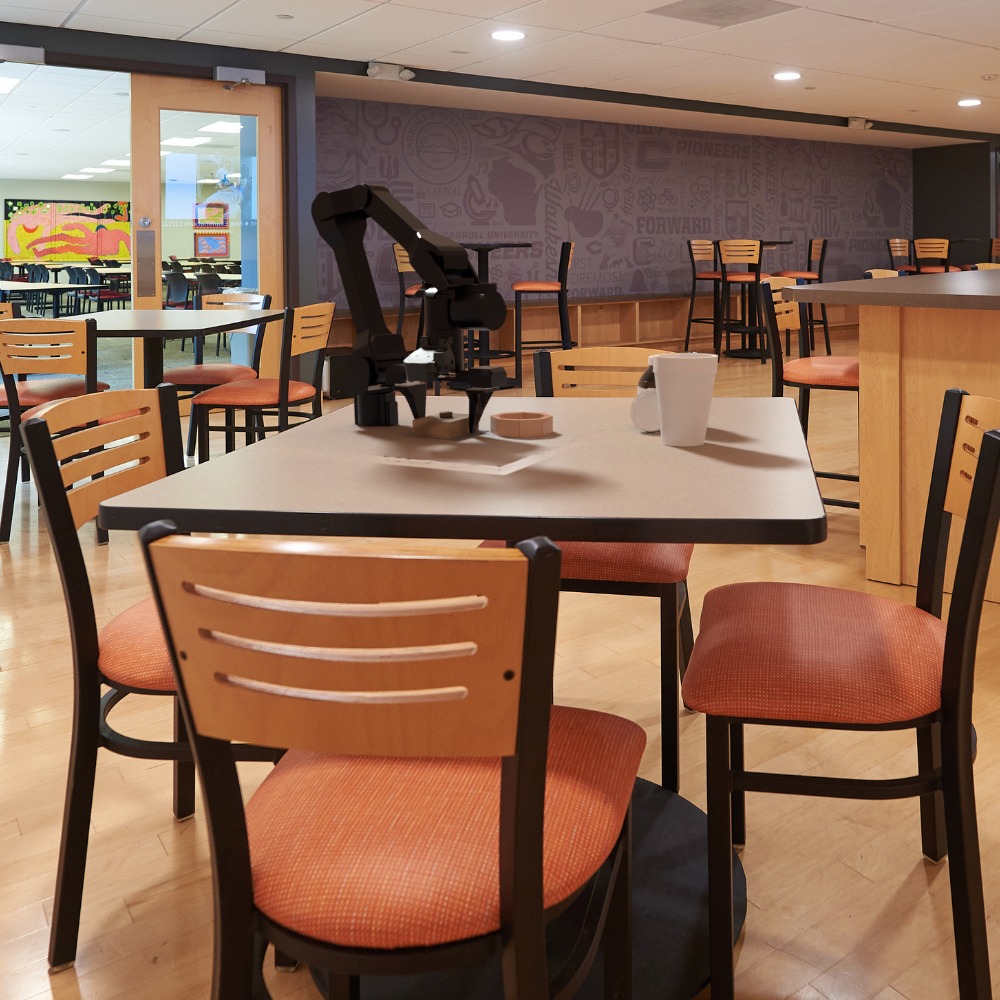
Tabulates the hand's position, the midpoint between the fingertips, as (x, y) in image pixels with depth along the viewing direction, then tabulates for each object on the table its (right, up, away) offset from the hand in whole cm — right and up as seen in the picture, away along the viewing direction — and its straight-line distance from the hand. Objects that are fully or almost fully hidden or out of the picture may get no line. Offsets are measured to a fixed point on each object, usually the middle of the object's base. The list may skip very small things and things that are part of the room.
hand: (446, 431), depth 152 cm
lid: (0, 0, 0) cm, 0 cm away
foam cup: (+36, -2, -5) cm, 36 cm away
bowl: (+12, -1, +1) cm, 12 cm away
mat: (0, -1, 0) cm, 1 cm away
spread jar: (+35, +1, +9) cm, 36 cm away
